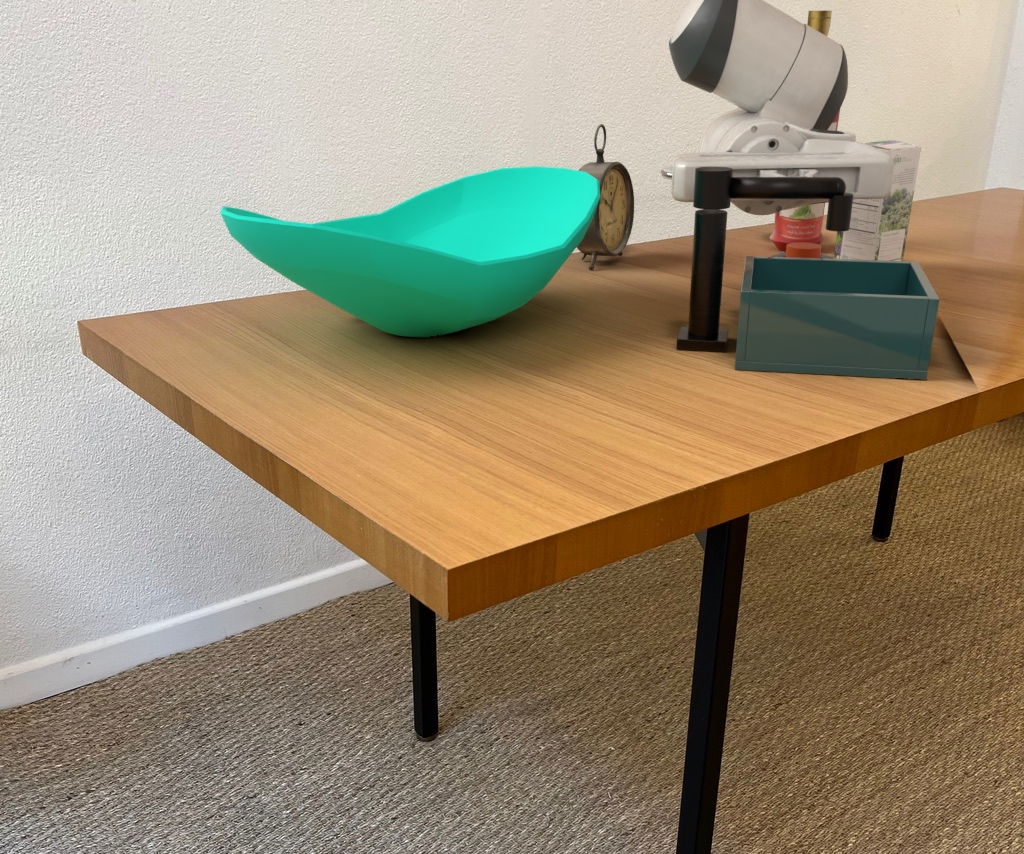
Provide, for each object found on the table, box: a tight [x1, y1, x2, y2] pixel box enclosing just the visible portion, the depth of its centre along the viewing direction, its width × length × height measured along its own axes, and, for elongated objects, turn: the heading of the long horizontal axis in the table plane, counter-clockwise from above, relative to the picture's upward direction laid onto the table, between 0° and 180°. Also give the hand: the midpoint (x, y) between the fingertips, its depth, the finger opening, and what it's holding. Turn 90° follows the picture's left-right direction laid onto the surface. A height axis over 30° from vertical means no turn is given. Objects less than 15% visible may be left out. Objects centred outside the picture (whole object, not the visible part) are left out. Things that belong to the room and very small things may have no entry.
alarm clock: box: [576, 123, 635, 271], centre depth 127 cm, size 11×5×16 cm, turn 151°
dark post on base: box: [676, 209, 729, 353], centre depth 95 cm, size 4×4×12 cm
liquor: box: [769, 10, 841, 252], centre depth 131 cm, size 7×7×28 cm
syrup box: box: [833, 139, 922, 261], centre depth 120 cm, size 6×6×14 cm
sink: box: [734, 255, 940, 380], centre depth 93 cm, size 16×15×7 cm
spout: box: [692, 166, 854, 232], centre depth 91 cm, size 14×3×5 cm, turn 85°
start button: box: [785, 242, 822, 258], centre depth 112 cm, size 4×4×2 cm
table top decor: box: [220, 165, 600, 338], centre depth 101 cm, size 40×28×13 cm
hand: (799, 189), depth 92 cm, fingers closed, pressing on spout
